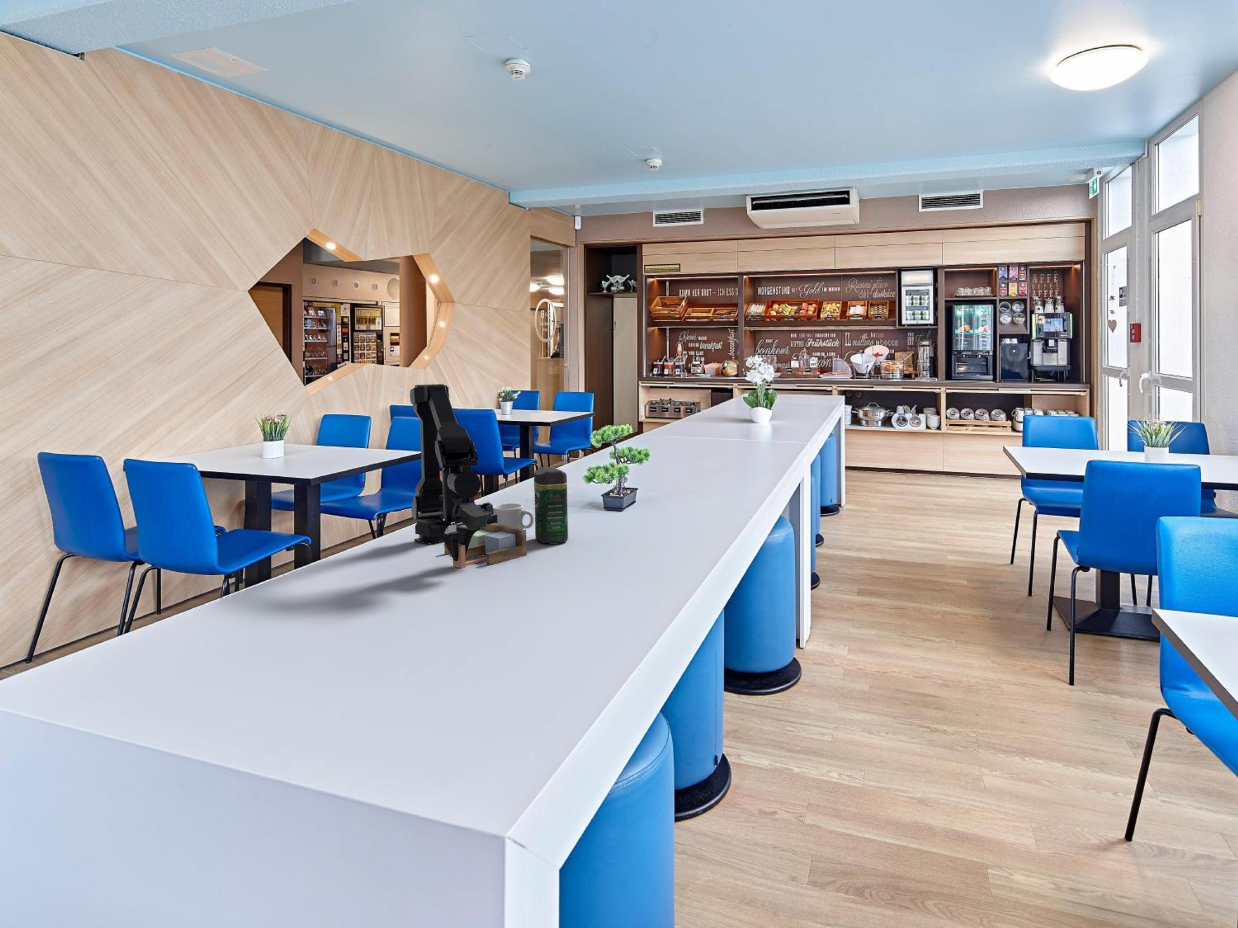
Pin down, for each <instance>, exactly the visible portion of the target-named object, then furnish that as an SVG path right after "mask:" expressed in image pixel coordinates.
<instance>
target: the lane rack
mask: <svg viewBox="0 0 1238 928" xmlns="http://www.w3.org/2000/svg"><path fill="white" fill-rule="evenodd" d="M480 528H481V529H480V530H484V531H489V532H493V533H497V532H506V533H511V534H515V543H516V546H513V547H509V548H505V549H501V550H497V551H493V552H489V553H486V556H485V543H484V544H480V545H476V546H472V547H468V550H467V553H466V556H465V558H466V560H469V561H470V560H474V559H478V558H479V557H480V558H481V557H486V560H485V565H488V566H492V565H495V564H498V563H502V562H507V561H510V560H514V559H517V558H520V557H524V556H527V555H528V550H527V549H528V548H527V546H528V545H527V529H519V528H514V527H509V526H504V525H499V524H489V525H488V524H486V526H485V527H480ZM443 544H444V545H443V546H444V547H443V548H444V554H445V555H450V553H449V551H448V549H447V547H446V545H445V543H444V542H443Z"/></svg>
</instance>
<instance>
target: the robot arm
mask: <svg viewBox="0 0 1238 928" xmlns="http://www.w3.org/2000/svg"><path fill="white" fill-rule="evenodd" d="M449 389H450V387H449V386H448V385H447V384H446V385H445V384H444V383H435V384H434V383H433V384H431V383H430V384H415V385H414V387H413V388H412V389H410V390H409V401H410V404H411V405H412V410H413V411H414V413H415V414H416V416H417V418H418V419H419V430H420V437H419V438H420V458H421V459H420V463H421V465H420V466H421V468H420V470H421V478H420V480H419V481H418V483H417V485H416V486H415V495H414V496H413V498H412V503H411V515H412V516H411V517H412V518H413V519H414V520H415V521H417V522H416V523H415V525H414V532H415V535H418V537H417V538H414V540H413V541H414V542H418V543H422V544H425V545H433V544H437V543H441V542H443V544H444V543H445V545H446V547H447V549H448V551H449V553H450V554H449V555H450V556H451V559H452V561H453V560H454V561H458V544H462V545H465V556H466V553H467V550H468V547H469V544H470V541H471V538H472V536H473V535H474V534H475V533H476V532H477V531H478V530H480V529H481V528H480V527H485V526H486V524H488V525H489V524H494V523H497V522H498V518H497V514H496V512H495V511H494V510H493V506H494V504H492V503H491V502H483V503H481V504H480V503H479V504H477V503H476V502H475V496H476V495H477V494H478V493H479V492H480V491H481V487H482V481H481V479H480V477H479V475H478V474H477V473H476V472H474V471H472V467H475V466H476V467H477V466H478V461H479V456H478V452H477V449H476V445H475V443H474V441H473V439H472V438H471V437H470V436H469V433H468V431H467V429H466V428H465V427H463V426H461V425H460V424H459V423H458V421H457V417H456V415H455V412H454V409H453V406H452V404H451V400H450V392H449V391H450V390H449Z"/></svg>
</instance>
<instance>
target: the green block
mask: <svg viewBox="0 0 1238 928" xmlns="http://www.w3.org/2000/svg"><path fill="white" fill-rule="evenodd" d="M492 533H493V532H489V531H484V530H478V531H477V532H476V533H475V534H474V535H473V536H472V538H471V541H470V544H469V547H472V546H476V545H480V544H484V543H485V535H488V534H492Z"/></svg>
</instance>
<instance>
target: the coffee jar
mask: <svg viewBox="0 0 1238 928" xmlns="http://www.w3.org/2000/svg"><path fill="white" fill-rule="evenodd" d="M533 486H534V487H533V489H534V490H533V491H534V531H535V532H534V535H535V539H536V541H538V542H539V543H541V544H551V545H557V544H561V543H563V542H564V543H565V542H567V541H568V539H569V524H568V523H569V522H568V521H569V520H568V519H569V518H568V517H569V516H568V515H569V514H568V478H567V473H566V472H565V471H563V470H562V469H559V468H557V467H555V466H541V467H539V468H537V469H536V470H535V471H534V474H533Z"/></svg>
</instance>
